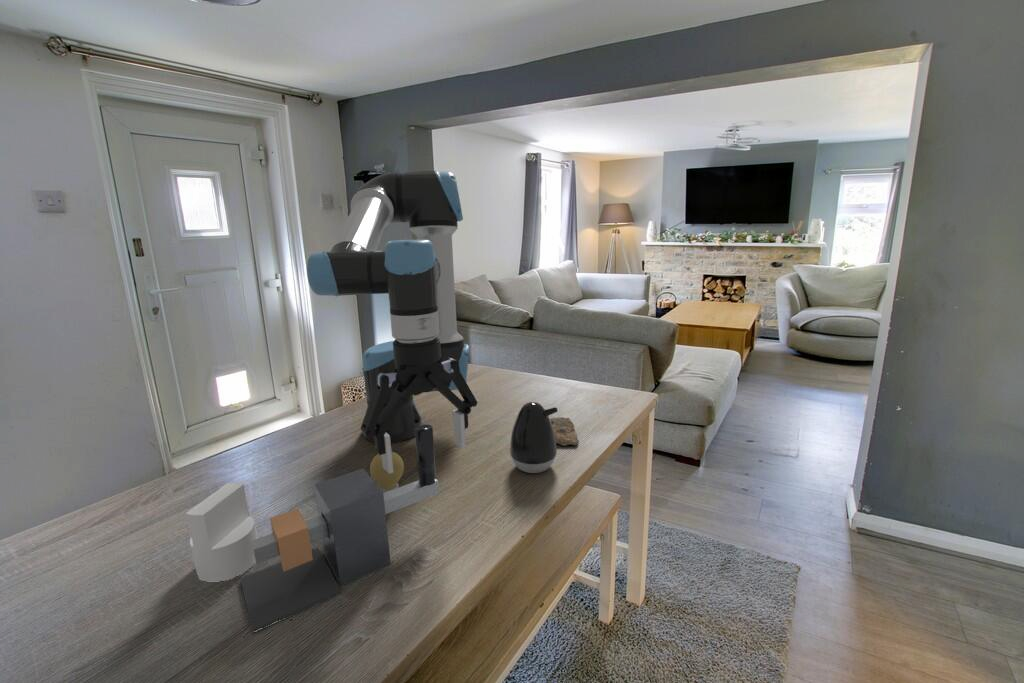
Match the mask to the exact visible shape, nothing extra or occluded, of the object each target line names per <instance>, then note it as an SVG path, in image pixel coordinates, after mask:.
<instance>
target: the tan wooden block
mask: <svg viewBox="0 0 1024 683" xmlns="http://www.w3.org/2000/svg"><path fill="white" fill-rule="evenodd" d="M269 521H270V526H271V531H272V533H274V535H275V537H276V540H277V542H278V547H279V553H280V555H279V558H280V562H281V565H282V568H283V571H287V570H289V569H292V568H294V567H297V566H299V565H301V564H304V563H306V562H309V561H311V560H313V557H312V551H311V550H312V546H311V544H312V543H310V538H309V531H308V527H307V525H306V523H305V521H306V520H305V519H304V517H303V515H302V512H301V511H300V509H299V508H296V509H292V510H290V511H287V512H283V513H281V514H279V515H275V516H272V517H270V518H269ZM272 533H271V534H272Z"/></svg>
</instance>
